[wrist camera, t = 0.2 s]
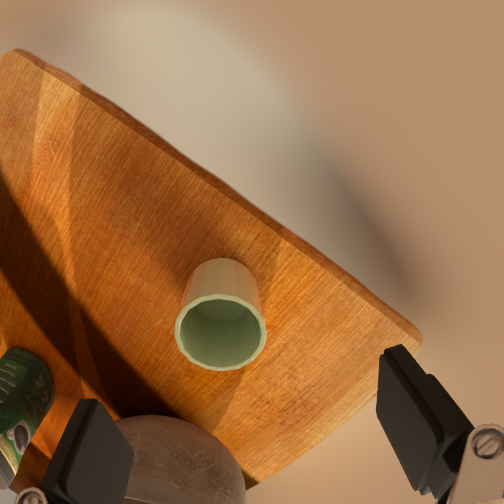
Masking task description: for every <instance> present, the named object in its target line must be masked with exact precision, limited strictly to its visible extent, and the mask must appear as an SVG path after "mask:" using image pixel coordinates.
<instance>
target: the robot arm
mask: <svg viewBox="0 0 504 504" xmlns="http://www.w3.org/2000/svg"><path fill="white" fill-rule="evenodd" d="M376 413H377V417H378V419H379V421H380V423H381V425H382V427H383V429H384V431H385V433H386V435H387V437H388V439H389V441H390V443H391V445H392V447H393V449H394V451H395V453H396V455H397V457H398V459H399V461H400V463H401V466H402V468H403V469H404V472H405V474H406V476H407V478H408V480H409V482H410V484H411V486H412V488H413V489H414V490H415V491H417V490H419V491H420V493H421V495H425V494H427V493H429V492H432V494H433V496H434V498H435V499H437V500H436V503H435V504H504V428H503V427H501V426H499V425H495V424H484V425H481V426H478V427H477V428H474V427H473V425H472V424H471V422H470V421H469V420H468V418H467V417H466V416H465V414H464V413H463V412H462V410H461V409H460V408H459V407H458V405H457V404H456V403H455V401H454V400H453V399H452V398H451V396H450V395H449V394H448V392H447V391H446V390H445V389H444V388H443V386H442V385H441V384H440V382H439V381H438V380H437V379H436V377H435V376H433V375H432V374H426V373H425V372H424V370H423V369H422V368H421V367H420V365H419V364H418V363H417V362H416V360H415V359H414V358H413V357H412V355H411V354H410V353H409V352H408V350H407V349H406V348H405V347H404V346H403V345H402V344H399V345H396V346H393V347H390V348H387V349H385V350H384V354H382V355H380V358H379V377H378V391H377V404H376ZM133 460H134V451H133V449H132V447H131V446H130V444H129V443H128V441H127V440H126V439H125V437H124V436H123V434H122V433H121V431H120V430H119V428H118V427H117V425H116V424H115V422H114V421H113V419H112V418H111V416H110V415H109V413H108V412H107V410H106V408H105V407H104V405H103V404H102V403H101V402H99V401H98V400H97V399H80V400H79V402H78V404H77V406H76V408H75V410H74V412H73V414H72V416H71V418H70V420H69V422H68V424H67V426H66V428H65V430H64V432H63V435H62V437H61V439H60V441H59V443H58V445H57V448H56V450H55V452H54V454H53V457H52V459H51V461H50V463H49V466H48V468H47V470H46V473H45V475H44V477H43V480H42V482H41V486H42V487H43V490H42V491H41V490H40V489H38V488H35V487H29V488H25V489H24V490H22V491H21V492H20V493H19V494H18V495H17V497H16V499H15V503H14V504H124V499H125V495H126V490H127V486H128V481H129V477H130V473H131V468H132V464H133Z"/></svg>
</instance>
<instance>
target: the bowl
mask: <svg viewBox="0 0 504 504" xmlns="http://www.w3.org/2000/svg"><path fill="white" fill-rule="evenodd" d="M114 422H115V424H116V425H117V427H118V428H119V430H120V431H121V433H122V434H123V436H124V437H125V439H126V440H127V441H128V443H129V444H130V446H131V447H132V449H133V451H134V460H133V464H132V468H131V473H130V477H129V481H128V486H127V490H126V495H125V499H124V504H245V500H246V497H245V496H246V495H245V493H246V489H245V483H244V478H243V475H242V472H241V469H240V467H239V465H238V463H237V461H236V460H235V458H234V457H233V455H232V454H231V452H230V451H229V450H228V449H227V448H226V447H225V446H224V445H223V444H222V443H221V442H220V441H219V440H218V439H217V438H215V437H214V436H213V435H211V434H210V433H209V432H207V431H206V430H204V429H202V428H201V427H199V426H196V425H194V424H192V423H189V422H187V421H184V420H181V419H178V418H174V417H167V416H160V415H141V416H133V417H128V418H124V419H121V420H117V421H114Z"/></svg>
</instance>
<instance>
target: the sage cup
mask: <svg viewBox="0 0 504 504" xmlns="http://www.w3.org/2000/svg"><path fill="white" fill-rule="evenodd" d="M266 336H267V332H266V327H265V322H264V317H263V312H262V308H261V303H260V298H259V293H258V288H257V283H256V280H255V278H254V276H253V274H252V273H251V271H250V270H249V269H248V268H247V267H246V266H245V265H243V264H242V263H240V262H238V261H236V260H233V259H229V258H215V259H211V260H208V261H205V262H204V263H202V264H200V265H199V266H198V267H197V268H196V269H195V270H194V271H193V272H192V274H191V276H190V278H189V280H188V281H187V285H186V288H185V291H184V294H183V297H182V301H181V304H180V307H179V311H178V314H177V317H176V321H175V331H174V337H175V339H176V342H177V345H178V347H179V350H180V351H181V352H182V353H183V354H184V355H185V356H186V357H187V358H188V359H189V360H190V361H191V362H193V363H195V364H197V365H199V366H201V367H203V368H205V369H210V370H217V371H227V370H233V369H238V368H241V367H242V366H244V365H246V364H248V363H250V362H252V361H253V360H254V359H255V358H256V357H257V355H258V354H259V353H260V352H261V351H262V349H263V347H264V343H265V339H266Z"/></svg>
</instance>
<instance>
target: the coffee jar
mask: <svg viewBox="0 0 504 504" xmlns="http://www.w3.org/2000/svg"><path fill="white" fill-rule="evenodd" d="M54 400H55V395H54V387H53V382H52V378H51V375H50V372H49V369H48V367H47V365H46V364H45V363H44V362H43V361H42V360H41V359H40V358H38V357H37V356H35V355H34V354H33V353H31V352H29V351H27V350H24V349H21V348H15V347H13V348H10V349H8V350H7V351H6V353H5V354H4V355H3V356H2V358H1V359H0V490H4V489H7V488H8V487H9V485H10V484H11V482H12V481H13V479H14V478H15V475H16V473H17V470H18V466H19V463H20V460H21V458H22V455H23V453H24V451H25V449H26V447H27V445H28V444H29V442H30V440H31V438H32V437H33V435H34V433H35V432H36V430H37V428H38V427H39V425H40V423H41V422H42V420H43V419H44V417H45V416H46V414H47V413H48V411H49V409H50V408H51V406H52V404H53V403H54Z"/></svg>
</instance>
